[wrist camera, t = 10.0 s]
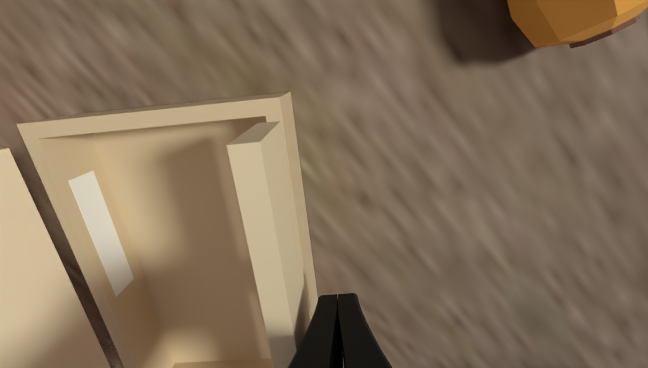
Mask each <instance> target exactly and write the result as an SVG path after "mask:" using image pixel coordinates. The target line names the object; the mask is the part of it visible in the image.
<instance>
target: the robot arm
mask: <svg viewBox="0 0 648 368" xmlns="http://www.w3.org/2000/svg"><path fill="white" fill-rule="evenodd" d="M342 350H343V352H342ZM343 359H344V368H392V366H391V365H390V363H389V362H388V360H387V359H386V357H385V355H384V354H383V352H382V350H381V349H380V347H379V345H378V343H377V341H376V340H375V338H374V336H373V334H372V332H371V330H370V328H369V326H368V324H367V322H366V320H365V317H364V315H363V313H362V310H361V307H360V304H359V301H358V297H357V295H356V294H355V293H350V294H338V298H337V294H336V295H321V296H320V297H319V298H318V302H317V305H316V308H315V311H314V314H313V317H312V319H311V322H310V324H309V326H308V329H307V331H306V333H305V335H304V337H303V340H302V342H301V344H300V346H299V348H298V349H297V351H296V353H295V355H294V357H293V359H292V361H291V363H290V364H289V366H288V368H343Z"/></svg>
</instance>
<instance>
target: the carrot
mask: <svg viewBox="0 0 648 368" xmlns="http://www.w3.org/2000/svg"><path fill="white" fill-rule="evenodd" d="M507 2H508V6H509V10H510V14H511V18H512V19H513V21H514V22H515V23H516V24H517V26H518V27H519V28H520V29H521V31H522V32H523V33H524V34H525V36H526V37H527V38H528V39H529V41H530V42H531V43H532V44H533V46H534V47H535V48H536V47H546V46H555V45H565V44H569V45H570V48H574V47H579V46H583V45H586V44H589V43H591V42H594V41H596V40H599V39H601V38H604V37H606V36H609V35H612V34H614V33H616V32H618V31H620V30H622V29H623V28H625V27H627V26H629V25H631V24H633V23H635V22H637V20H638V19H639V13H640V12H642V11H643V10H644V9H646V8H647V7H648V0H507Z"/></svg>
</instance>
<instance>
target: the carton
mask: <svg viewBox="0 0 648 368" xmlns="http://www.w3.org/2000/svg"><path fill="white" fill-rule="evenodd" d="M276 121H281V127H282V133H283V140H284V147H285V154H286V160H287V167H288V174H289V181H290V188H291V194H292V201H293V208H294V215H295V221H296V228H297V235H298V242H299V248H300V255H301V262H302V269H303V276H304V282H305V289H306V296H307V303H308V309H309V316H310V322H311V319H312V317H313V314H314V311H315V308H316V305H317V302H318V296H317V289H316V281H315V274H314V266H313V258H312V251H311V243H310V236H309V228H308V221H307V213H306V206H305V198H304V191H303V183H302V175H301V168H300V160H299V153H298V145H297V138H296V130H295V123H294V115H293V108H292V100H291V92H283V93H273V94H264V95H254V96H244V97H235V98H225V99H215V100H206V101H196V102H187V103H177V104H167V105H158V106H148V107H138V108H129V109H119V110H109V111H100V112H90V113H80V114H74V115H68V116H62V117H56V118H50V119H44V120H38V121H32V122H27V123H21V124H17V126H18V129H19V131H20V133H21V135H22V138H23V140H24V142H25V144H26V147H27V149H28V151H29V153H30V156H31V158H32V160H33V162H34V165H35V167H36V169H37V172H38V174H39V176H40V178H41V181H42V183H43V185H44V187H45V190H46V192H47V194H48V196H49V199H50V201H51V203H52V205H53V208H54V210H55V212H56V214H57V217H58V219H59V221H60V223H61V226H62V228H63V230H64V232H65V235H66V237H67V239H68V241H69V244H70V246H71V248H72V251H73V253H74V255H75V257H76V260H77V262H78V264H79V266H80V269H81V271H82V273H83V275H84V278H85V280H86V282H87V284H88V287H89V289H90V291H91V293H92V296H93V298H94V300H95V302H96V305H97V307H98V309H99V311H100V314H101V316H102V318H103V320H104V323H105V325H106V327H107V330H108V332H109V334H110V336H111V339H112V341H113V343H114V345H115V348H116V350H117V352H118V354H119V357H120V359H121V361H122V363H123V366H124V368H274V365H273V360H272V356H271V351H270V346H269V342H268V337H267V332H266V328H265V323H264V318H263V314H262V309H261V304H260V300H259V295H258V290H257V285H256V281H255V276H254V271H253V267H252V262H251V257H250V253H249V248H248V243H247V239H246V234H245V229H244V225H243V220H242V215H241V211H240V206H239V201H238V197H237V192H236V187H235V183H234V178H233V173H232V168H231V164H230V159H229V154H228V150H227V144H229V143H230V142H232V141H233V140H234V139H236V138H237V137H239V136H240V135H241V134H243V133H244V132H246V131H247V130H248V129H250V128H251V127H253V126H254V125H255V124H257V123H266V122H276Z"/></svg>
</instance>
